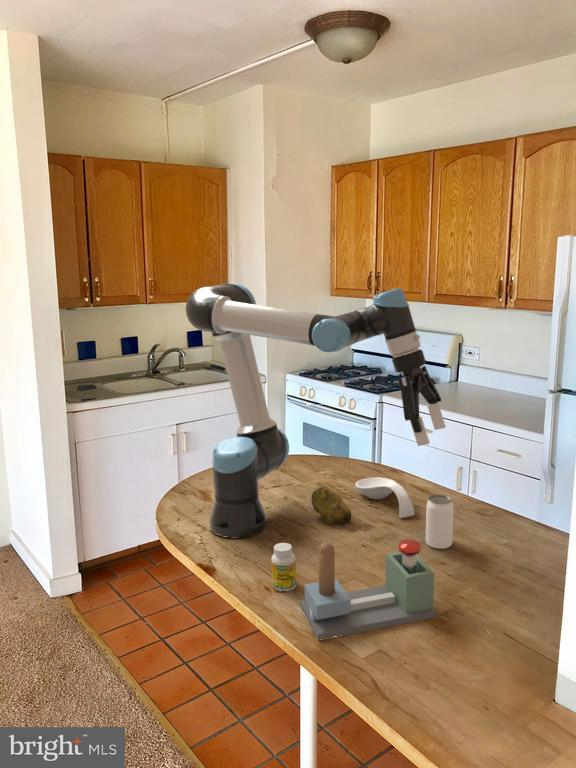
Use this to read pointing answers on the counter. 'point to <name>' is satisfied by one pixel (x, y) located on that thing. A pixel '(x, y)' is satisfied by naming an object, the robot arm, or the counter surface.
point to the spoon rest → (386, 493)
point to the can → (439, 522)
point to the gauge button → (409, 554)
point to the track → (363, 616)
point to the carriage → (326, 588)
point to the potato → (330, 506)
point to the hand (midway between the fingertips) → (432, 436)
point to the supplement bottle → (283, 567)
